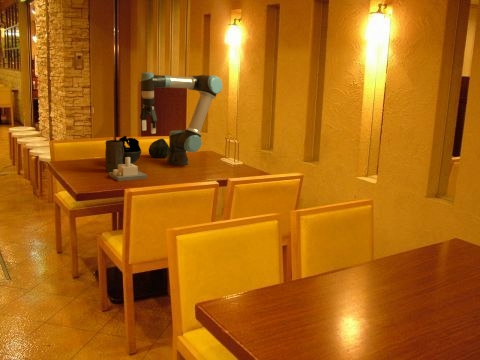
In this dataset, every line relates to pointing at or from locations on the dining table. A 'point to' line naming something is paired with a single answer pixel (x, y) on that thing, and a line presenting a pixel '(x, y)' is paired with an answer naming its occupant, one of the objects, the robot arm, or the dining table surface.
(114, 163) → the beer stein
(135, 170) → the square ring
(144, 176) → the post board
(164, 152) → the squash
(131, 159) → the coal bowl
